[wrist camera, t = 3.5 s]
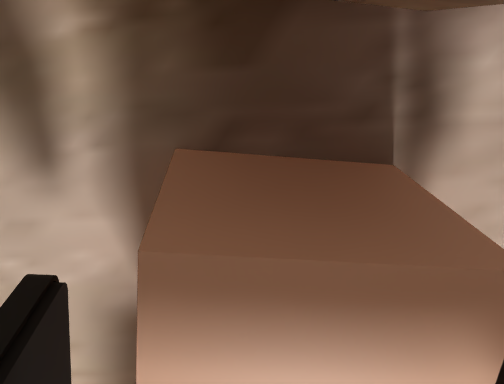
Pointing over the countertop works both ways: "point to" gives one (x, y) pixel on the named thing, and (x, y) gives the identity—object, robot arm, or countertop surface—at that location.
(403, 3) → the walnut block
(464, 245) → the terracotta block
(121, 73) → the countertop surface
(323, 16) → the countertop surface
